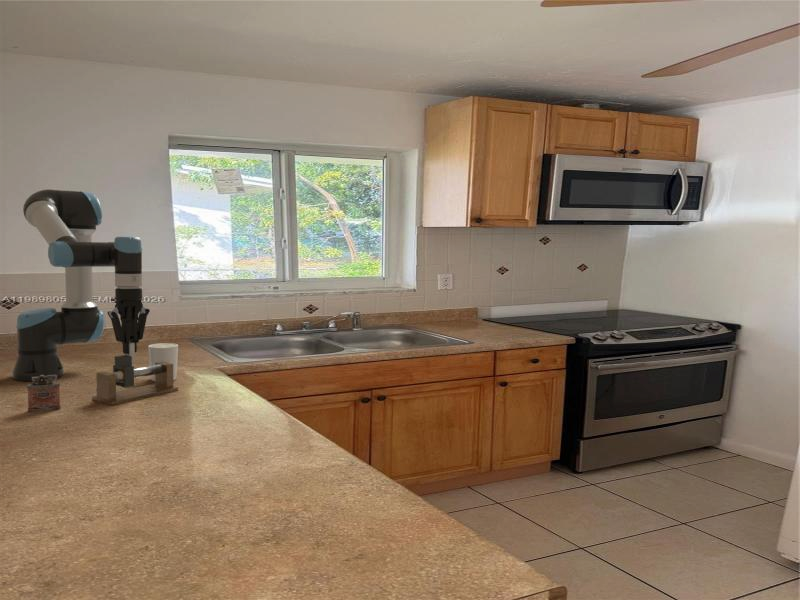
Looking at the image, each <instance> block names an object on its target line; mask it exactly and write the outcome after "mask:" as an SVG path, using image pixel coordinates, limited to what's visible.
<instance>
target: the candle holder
mask: <svg viewBox="0 0 800 600" xmlns="http://www.w3.org/2000/svg"><path fill="white" fill-rule="evenodd" d="M147 348H148V359H149V360H148V361H149V366H152V365H155V362H161V361H162V362H167V363H172V364H173V381H175V380H176V379H177V374H178V373H177V372H178V357H179V356H178V355H179V354H178V353H179V344H178V343H173V342H163V343H162V342H161V343H160V342H159V343H153V344H149V345H148V346H147ZM150 380H151V381H152V382H155V375H150Z"/></svg>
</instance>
